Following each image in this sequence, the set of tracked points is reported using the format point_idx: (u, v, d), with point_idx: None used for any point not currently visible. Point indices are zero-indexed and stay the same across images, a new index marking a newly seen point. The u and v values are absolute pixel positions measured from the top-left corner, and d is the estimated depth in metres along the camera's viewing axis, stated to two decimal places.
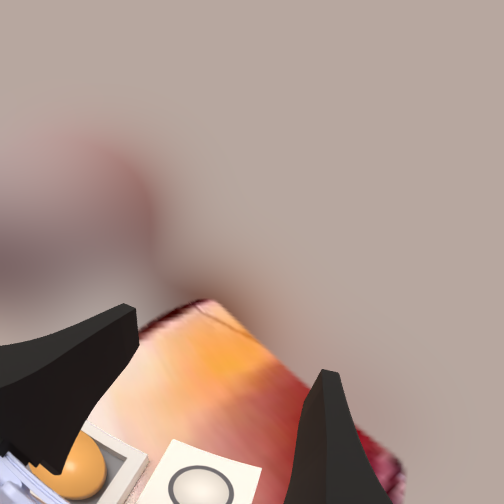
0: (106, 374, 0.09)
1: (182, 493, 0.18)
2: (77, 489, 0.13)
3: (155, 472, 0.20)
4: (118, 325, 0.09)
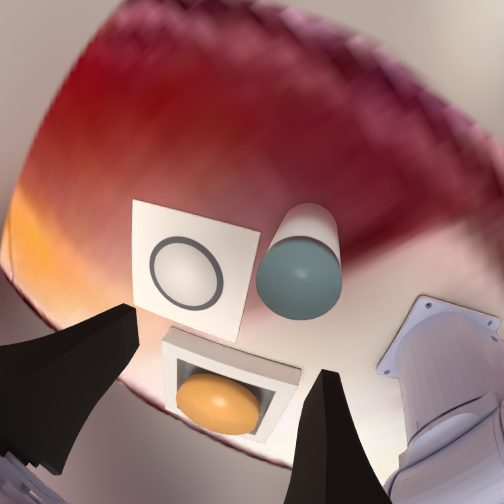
0: (106, 374, 0.09)
1: (194, 296, 0.22)
2: (239, 405, 0.21)
3: (181, 322, 0.23)
4: (118, 325, 0.09)
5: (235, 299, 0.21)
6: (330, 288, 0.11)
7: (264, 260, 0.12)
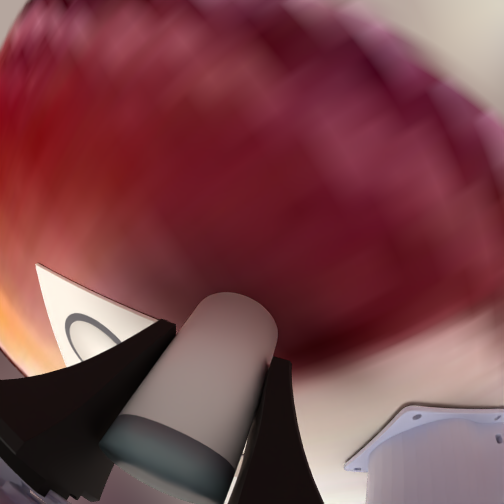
0: None
1: None
2: None
3: None
4: (160, 343, 0.09)
5: None
6: (205, 496, 0.05)
7: (100, 444, 0.05)
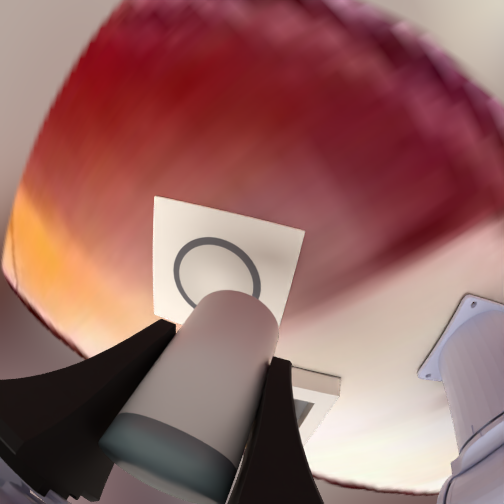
0: None
1: None
2: None
3: None
4: (160, 343, 0.09)
5: (273, 306, 0.19)
6: (207, 496, 0.05)
7: (100, 443, 0.05)
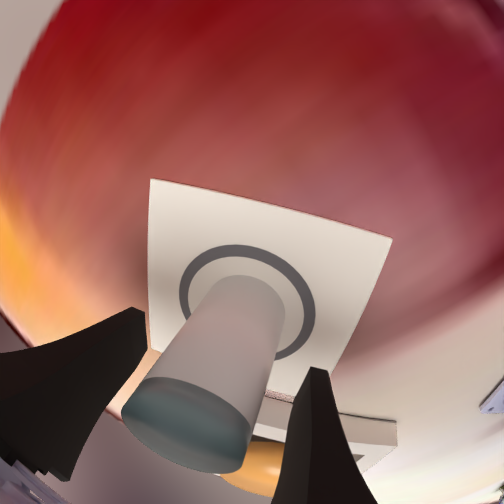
0: (114, 378, 0.09)
1: None
2: None
3: None
4: (127, 329, 0.09)
5: (329, 346, 0.12)
6: (225, 458, 0.06)
7: (124, 408, 0.06)
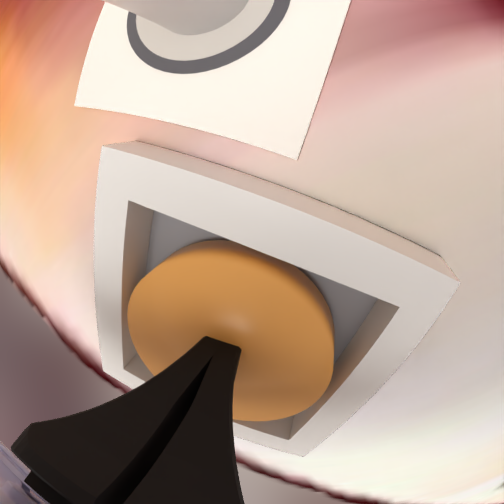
0: None
1: (212, 35, 0.07)
2: (302, 325, 0.08)
3: (160, 115, 0.09)
4: (210, 363, 0.08)
5: (315, 32, 0.07)
6: None
7: None
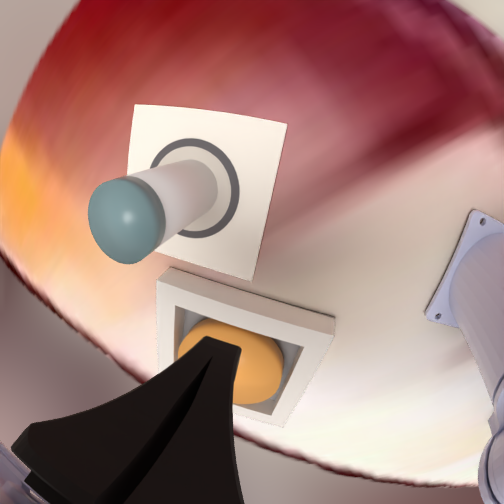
0: None
1: (201, 217, 0.17)
2: (260, 355, 0.18)
3: (182, 257, 0.19)
4: (210, 363, 0.08)
5: (254, 216, 0.17)
6: (142, 226, 0.10)
7: (90, 200, 0.10)
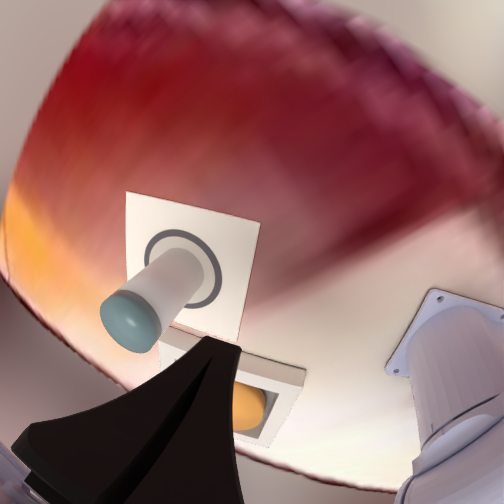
0: None
1: None
2: (244, 398, 0.21)
3: (178, 321, 0.22)
4: (210, 363, 0.08)
5: (235, 296, 0.20)
6: (144, 333, 0.13)
7: (101, 307, 0.14)
